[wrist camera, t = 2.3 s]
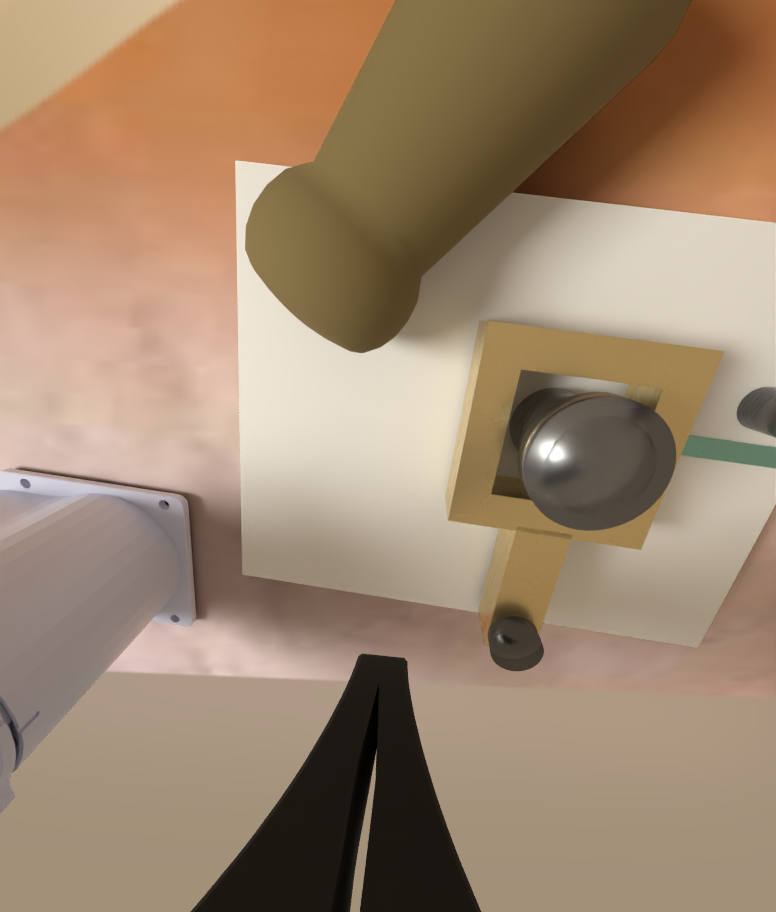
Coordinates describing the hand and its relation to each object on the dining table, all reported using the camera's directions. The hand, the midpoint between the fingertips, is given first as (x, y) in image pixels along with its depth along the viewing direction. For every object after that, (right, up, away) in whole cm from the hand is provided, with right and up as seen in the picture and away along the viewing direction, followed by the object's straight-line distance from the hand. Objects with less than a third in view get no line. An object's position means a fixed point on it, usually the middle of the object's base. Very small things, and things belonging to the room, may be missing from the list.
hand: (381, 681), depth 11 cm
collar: (+6, +5, +4) cm, 9 cm away
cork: (+5, +19, -2) cm, 20 cm away
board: (+5, +7, +5) cm, 10 cm away
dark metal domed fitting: (+10, +4, +5) cm, 12 cm away
